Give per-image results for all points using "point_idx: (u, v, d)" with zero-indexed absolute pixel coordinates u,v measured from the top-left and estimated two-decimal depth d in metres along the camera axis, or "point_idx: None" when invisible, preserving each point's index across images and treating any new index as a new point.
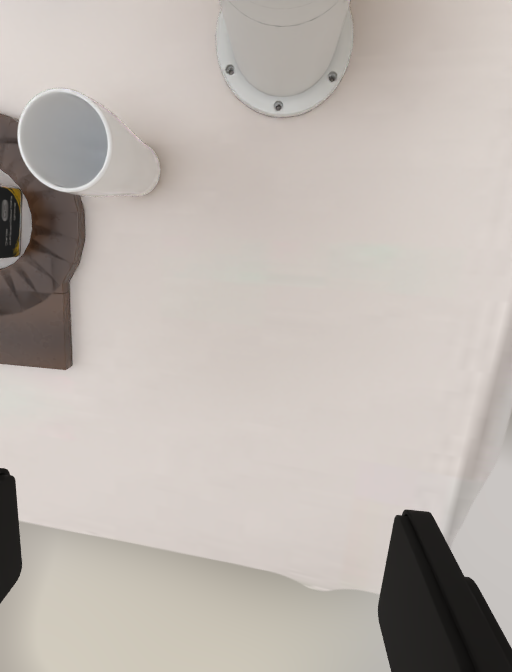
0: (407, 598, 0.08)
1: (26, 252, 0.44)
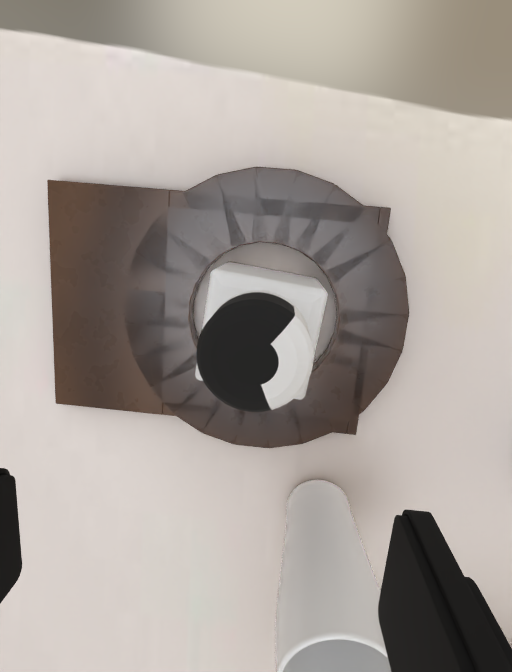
0: (407, 598, 0.08)
1: None
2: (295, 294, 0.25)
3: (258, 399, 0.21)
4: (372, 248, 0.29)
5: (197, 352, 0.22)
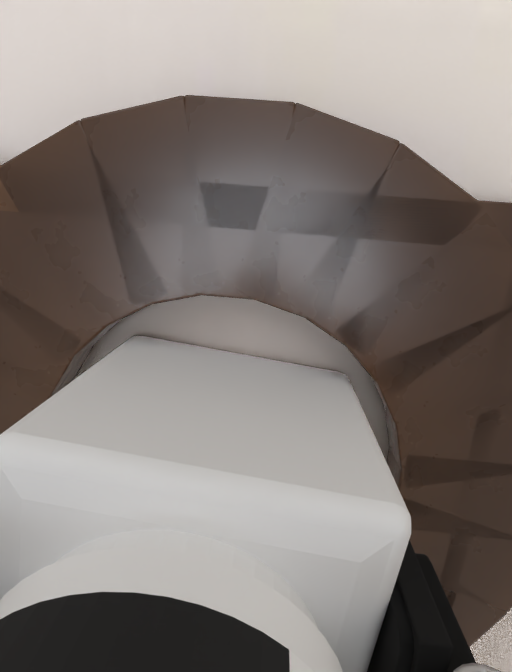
0: None
1: None
2: (296, 533, 0.07)
3: None
4: (494, 312, 0.11)
5: None
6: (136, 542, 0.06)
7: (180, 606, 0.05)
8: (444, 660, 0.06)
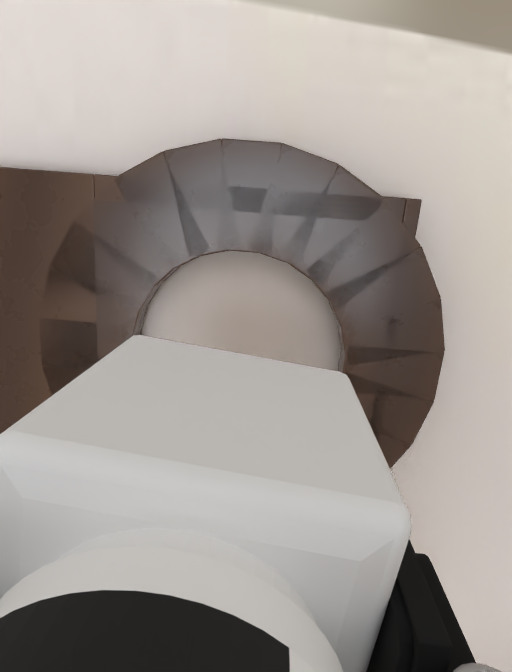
0: None
1: None
2: (296, 532, 0.07)
3: None
4: (393, 259, 0.20)
5: None
6: (137, 541, 0.06)
7: (181, 604, 0.05)
8: (444, 660, 0.06)
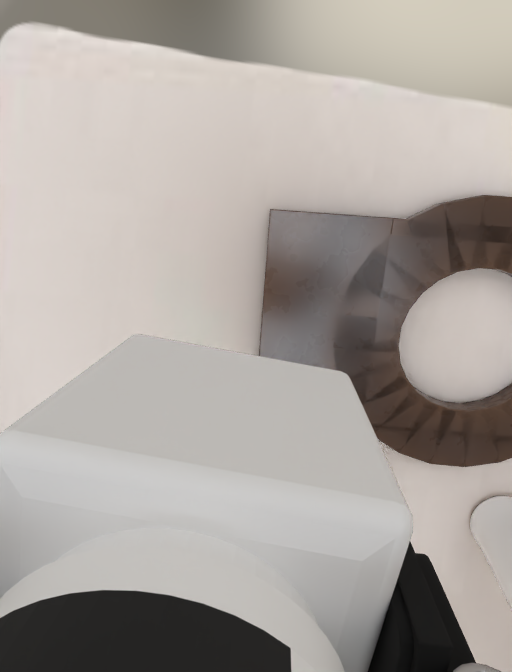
0: None
1: (419, 397, 0.33)
2: (297, 531, 0.07)
3: None
4: None
5: None
6: (137, 540, 0.06)
7: (181, 604, 0.05)
8: (444, 660, 0.06)
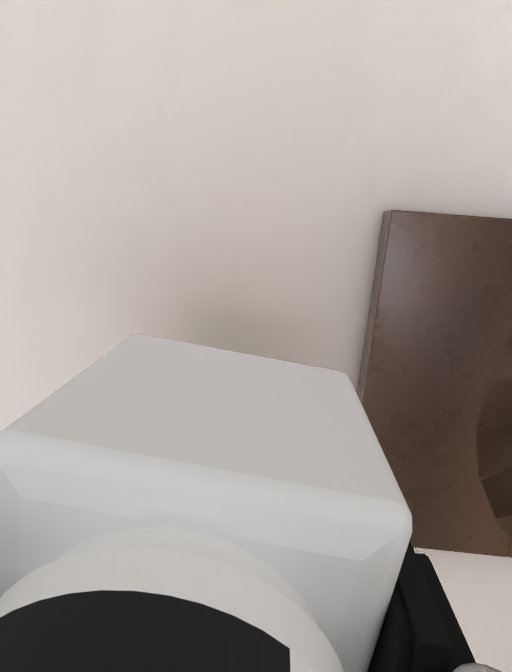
0: None
1: None
2: (297, 532, 0.07)
3: None
4: None
5: None
6: (136, 540, 0.06)
7: (180, 604, 0.05)
8: (444, 660, 0.06)
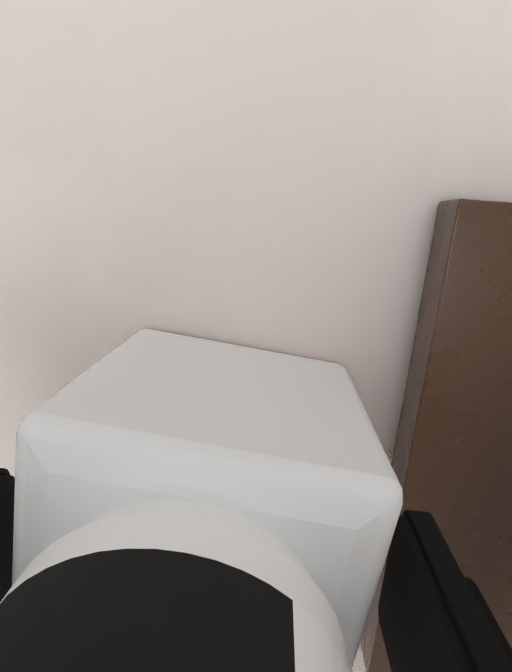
0: (407, 598, 0.08)
1: None
2: (298, 503, 0.07)
3: None
4: None
5: None
6: (153, 511, 0.07)
7: (196, 560, 0.06)
8: None
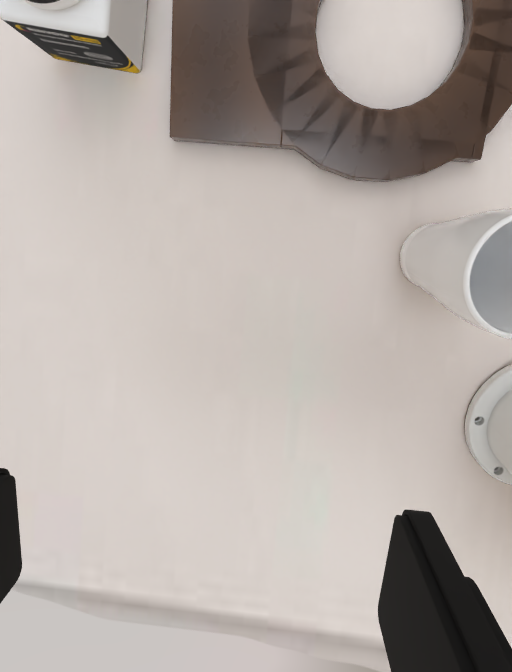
0: (407, 598, 0.08)
1: (339, 94, 0.31)
2: None
3: None
4: None
5: None
6: None
7: None
8: None
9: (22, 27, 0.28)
